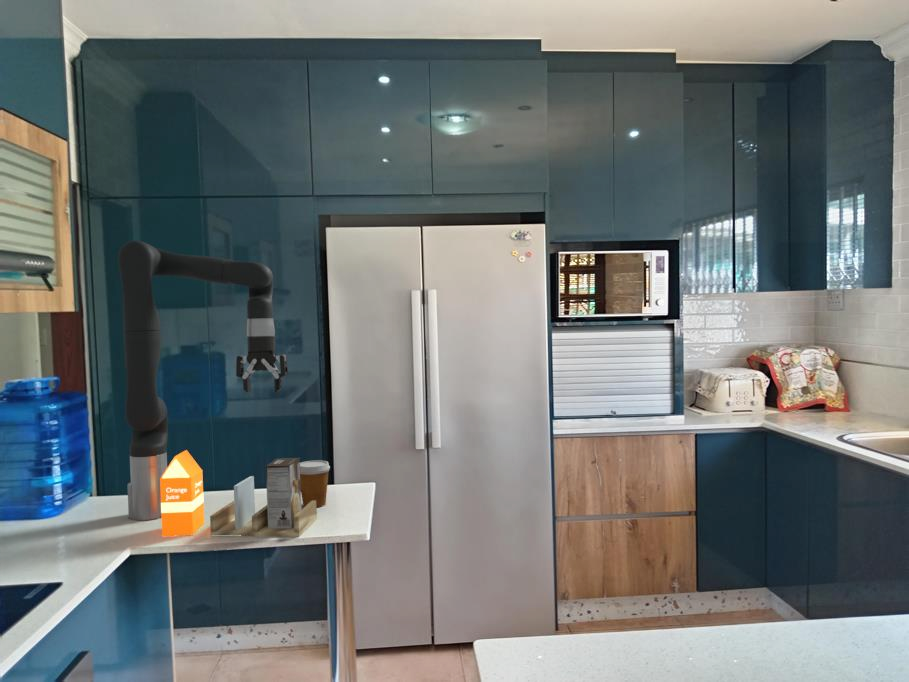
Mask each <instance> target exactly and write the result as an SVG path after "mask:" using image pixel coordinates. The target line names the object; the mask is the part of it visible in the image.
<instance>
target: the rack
mask: <svg viewBox="0 0 909 682" xmlns="http://www.w3.org/2000/svg"><path fill="white" fill-rule="evenodd" d="M317 511H318V510H317V508H316V501H315V500H312V501H311V502H310V503H308V504H307V505H306V506H305V507H304V506H303V508H302V510H301V511H300V512H298V513H297V514H296V515H295V516H294V527H293V528H292V529H268V510H267V504H266V505H265V506H263V507H262V508H261V509H259V510H258V511H257V512H255V514H254V515H253V516H252V520H251V521H250V522H248V523H247V524H246V525H244V526H243V527H242V528H241V529H239V530H235V507H234V500H232V501H231V502H230V503H227V505H225V506H224V507H222V508H220V509H218V510H217V511H216V512H214V513H213V514H210V516H209V519H210V523H209V525H210V536H211V535H241V536H240V537H271V536H276V537H277V538H278V537H281V538H282V537H287V538H288V537H289V538H291V537H292V538H293V537H295V538H298V537H301V536H302V534H303V533H304V532H306V531H307V530H308V529H309V528H310V527H311V526H312V525H313V523H314V522H316V521H317V519H318V514H317V513H318V512H317Z"/></svg>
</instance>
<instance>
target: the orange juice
mask: <svg viewBox="0 0 909 682" xmlns="http://www.w3.org/2000/svg"><path fill="white" fill-rule="evenodd" d="M160 489H161V516H162V517H161V537H162V536H170V537H175V536H174V535H191V534H192V535H193V534H194V533H195V532H196V531H197V530H198V529H199V528H200V527H201V526H202V525H203V524H204V525H205V512H204V511H205V509H204V508H205V507H204V506H205V505H204V501H205V500H204V481H203V469H202V468H201V467H200V466H199V463H197V462H196V461H195V459H194V458H193V456H192V455H191V454H190V453H189V451H188V449H186V450H184V451H181V452H180V453H179V454H176V455H174V457H173V459H172V460H171V462H170V463H169V465H167V469H166V471H165V472H164V474H163V475H162V477H161V478H160ZM204 525H203V526H204ZM203 526H202V527H203ZM202 527H201V528H202ZM201 528H200V529H201ZM200 529H199V530H200ZM199 530H198V531H199ZM198 531H197V532H198ZM197 532H196V533H197ZM196 533H195V534H196ZM195 534H194V535H195ZM194 535H193V536H194Z"/></svg>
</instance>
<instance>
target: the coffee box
mask: <svg viewBox="0 0 909 682" xmlns="http://www.w3.org/2000/svg"><path fill="white" fill-rule="evenodd" d="M300 459H301V457H281V458H275V459H274V460H273V461H271V462H270V463H268V464H266V465H265V476H266V479H265V480H266V481H265V482H266V501H267V503H266V505H267V510H268V529H292V528H293V527H294V516H295V515H296V514H297V513H298V512H300V511H301V510H302V509H303V508H302V495H301V481H300V463H301V460H300Z"/></svg>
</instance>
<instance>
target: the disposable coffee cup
mask: <svg viewBox="0 0 909 682" xmlns="http://www.w3.org/2000/svg"><path fill="white" fill-rule="evenodd" d="M329 464H330V463H329V461H326V460H321V459H318V460H307V461H302V462H301V461H300V481H301V502H302V506H303V508H304V507H305V506H306V505H307V504H308V503H310V502H311V501H312V500H315V501H316V507H318V508H321V507H320V506H322V507H324V506H326V503H327V491H328V480H329V471H330V469H331V466H330V465H329ZM323 505H324V506H323Z"/></svg>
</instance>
